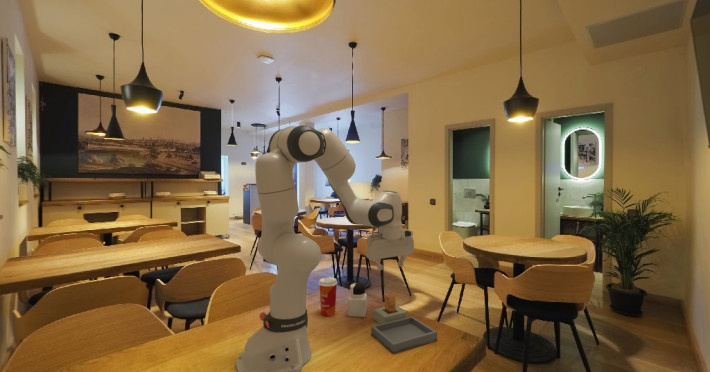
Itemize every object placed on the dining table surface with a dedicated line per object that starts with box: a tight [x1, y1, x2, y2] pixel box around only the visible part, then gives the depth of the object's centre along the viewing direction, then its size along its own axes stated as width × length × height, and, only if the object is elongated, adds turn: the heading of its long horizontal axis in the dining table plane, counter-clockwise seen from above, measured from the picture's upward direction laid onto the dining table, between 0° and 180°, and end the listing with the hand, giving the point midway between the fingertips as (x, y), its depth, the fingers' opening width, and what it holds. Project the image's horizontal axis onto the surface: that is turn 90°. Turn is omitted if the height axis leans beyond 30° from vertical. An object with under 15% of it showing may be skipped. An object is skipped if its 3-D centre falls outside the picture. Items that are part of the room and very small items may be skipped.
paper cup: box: [318, 276, 338, 318], centre depth 132 cm, size 8×8×14 cm
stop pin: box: [384, 293, 397, 314], centre depth 125 cm, size 3×3×10 cm
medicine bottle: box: [347, 282, 368, 318], centre depth 132 cm, size 7×7×12 cm
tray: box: [370, 315, 438, 355], centre depth 113 cm, size 18×14×3 cm
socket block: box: [373, 305, 408, 324], centre depth 125 cm, size 10×8×4 cm
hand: (390, 267), depth 125 cm, fingers open, 8 cm apart
